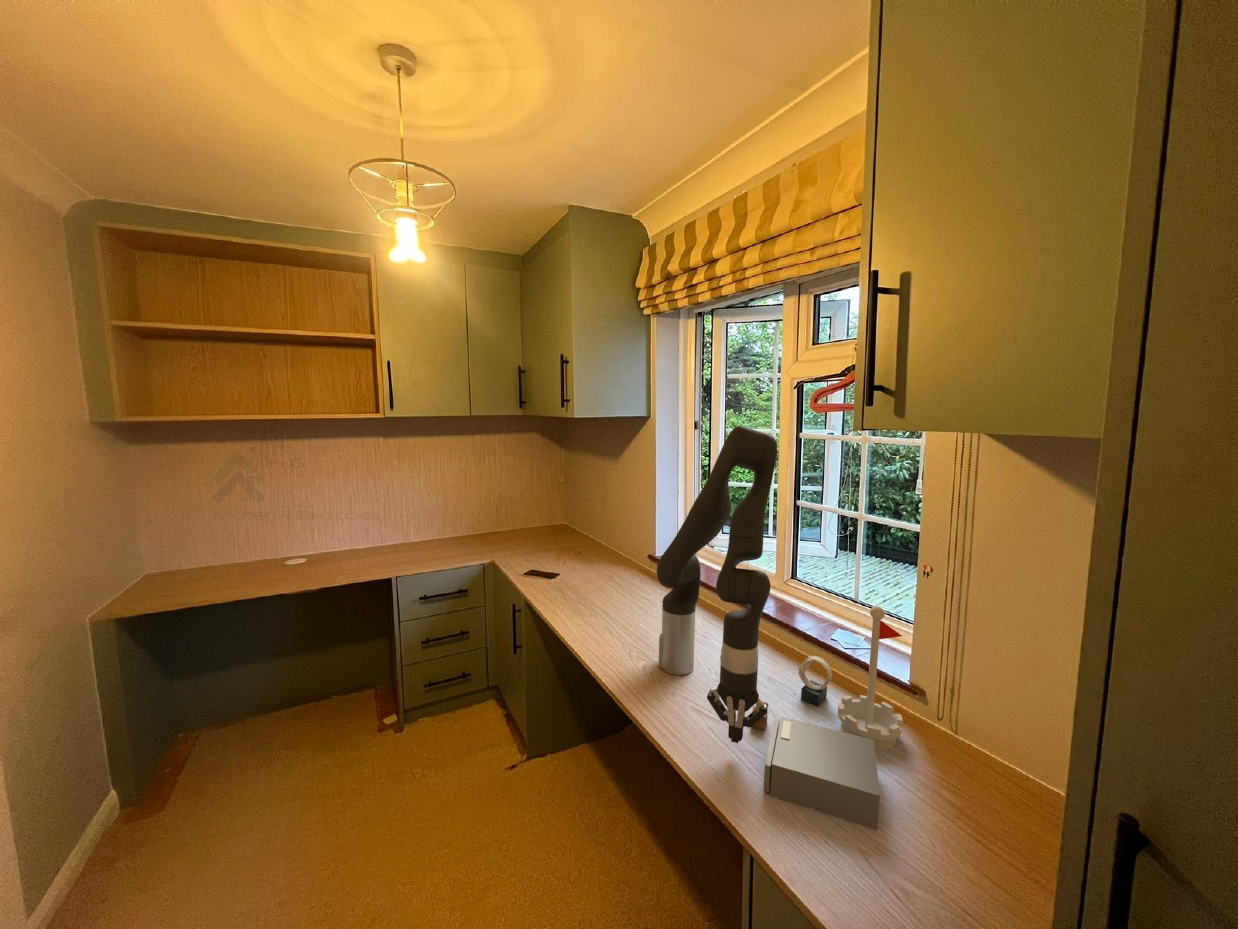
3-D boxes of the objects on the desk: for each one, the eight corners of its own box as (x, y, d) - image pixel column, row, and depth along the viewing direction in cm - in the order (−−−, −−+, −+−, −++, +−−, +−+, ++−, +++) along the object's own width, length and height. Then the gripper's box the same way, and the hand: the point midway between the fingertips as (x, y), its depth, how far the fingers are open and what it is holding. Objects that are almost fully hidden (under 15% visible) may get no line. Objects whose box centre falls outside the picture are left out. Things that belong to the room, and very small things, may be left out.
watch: (802, 688, 129) (804, 648, 128) (833, 701, 124) (836, 659, 122) (793, 697, 125) (795, 656, 124) (824, 710, 120) (827, 668, 118)
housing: (770, 795, 93) (772, 763, 92) (779, 744, 107) (780, 715, 107) (877, 830, 86) (880, 794, 85) (871, 769, 100) (873, 738, 99)
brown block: (750, 728, 113) (751, 713, 112) (752, 720, 115) (753, 706, 115) (765, 731, 111) (765, 717, 111) (767, 723, 114) (767, 709, 114)
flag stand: (828, 734, 111) (837, 607, 108) (846, 708, 121) (855, 591, 117) (892, 762, 102) (904, 624, 99) (906, 732, 112) (917, 606, 109)
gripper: (774, 661, 102) (769, 738, 104) (711, 648, 107) (708, 721, 109) (770, 679, 95) (765, 761, 97) (703, 664, 101) (700, 742, 103)
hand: (735, 740), depth 103 cm, fingers closed
